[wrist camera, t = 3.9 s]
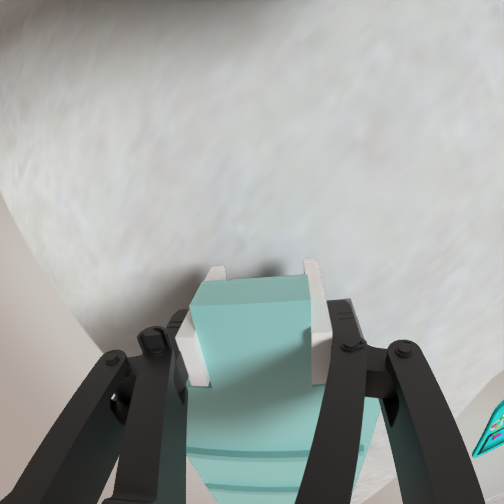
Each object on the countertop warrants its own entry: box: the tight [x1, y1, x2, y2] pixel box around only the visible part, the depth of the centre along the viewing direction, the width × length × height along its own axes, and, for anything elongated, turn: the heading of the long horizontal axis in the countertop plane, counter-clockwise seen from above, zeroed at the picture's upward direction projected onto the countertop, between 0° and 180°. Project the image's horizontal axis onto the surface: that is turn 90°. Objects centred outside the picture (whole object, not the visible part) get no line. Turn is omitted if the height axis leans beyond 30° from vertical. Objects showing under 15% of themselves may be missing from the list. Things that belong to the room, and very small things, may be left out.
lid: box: [186, 274, 381, 504], centre depth 16 cm, size 24×12×2 cm, turn 7°
